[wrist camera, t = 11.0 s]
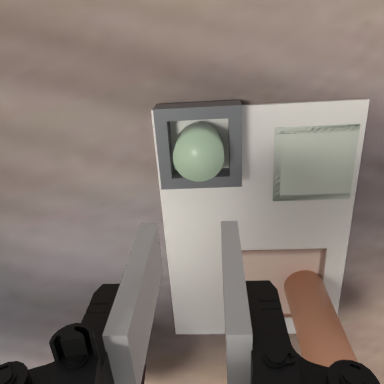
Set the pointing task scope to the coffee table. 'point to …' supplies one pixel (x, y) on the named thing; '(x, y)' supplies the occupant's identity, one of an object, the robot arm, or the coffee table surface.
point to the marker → (316, 320)
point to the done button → (199, 152)
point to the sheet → (267, 206)
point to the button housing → (199, 112)
